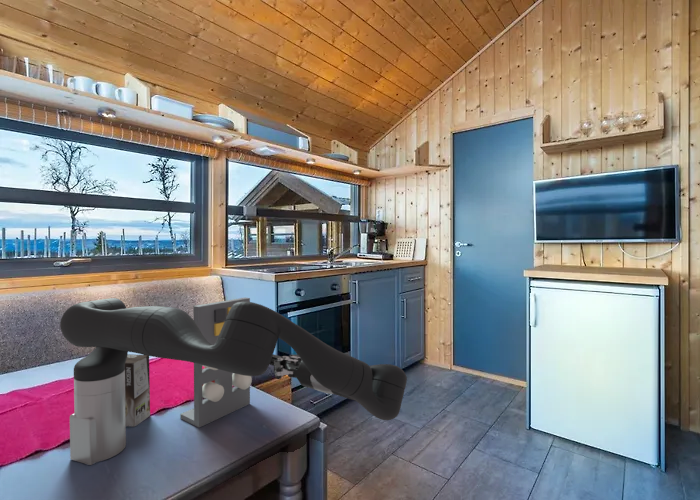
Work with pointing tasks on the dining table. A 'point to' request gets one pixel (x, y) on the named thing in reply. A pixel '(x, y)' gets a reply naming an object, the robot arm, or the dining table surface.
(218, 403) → the button panel
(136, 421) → the coffee box
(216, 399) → the button bottom left
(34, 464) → the dining table surface
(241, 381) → the button bottom right
